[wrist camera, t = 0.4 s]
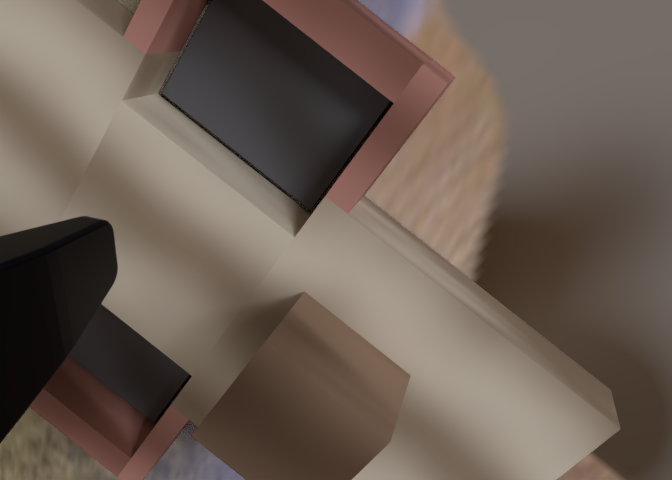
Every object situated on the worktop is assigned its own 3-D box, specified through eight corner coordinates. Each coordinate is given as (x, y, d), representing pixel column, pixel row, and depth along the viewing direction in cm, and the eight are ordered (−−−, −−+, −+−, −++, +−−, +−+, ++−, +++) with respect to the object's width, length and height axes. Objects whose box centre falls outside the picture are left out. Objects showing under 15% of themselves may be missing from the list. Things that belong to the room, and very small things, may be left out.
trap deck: (350, 606, 31) (310, 743, 25) (-171, 190, 32) (-330, 230, 26) (729, 291, 22) (808, 394, 16) (-27, -300, 22) (-228, -418, 16)
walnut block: (335, 452, 25) (304, 526, 22) (238, 375, 25) (190, 435, 22) (410, 375, 23) (390, 442, 19) (304, 291, 23) (264, 342, 20)
